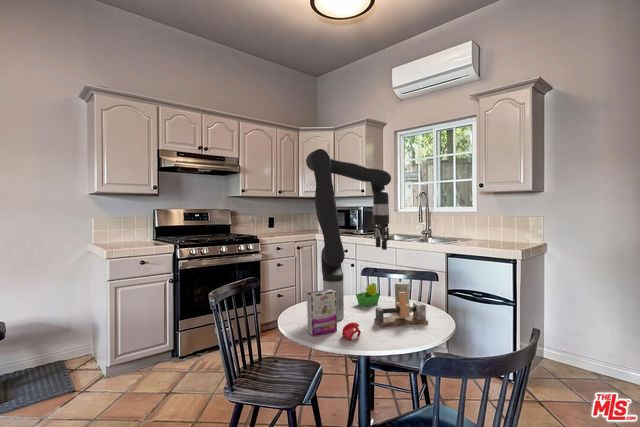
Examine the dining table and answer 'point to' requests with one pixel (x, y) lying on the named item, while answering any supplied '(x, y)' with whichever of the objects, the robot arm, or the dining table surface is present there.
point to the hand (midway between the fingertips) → (381, 248)
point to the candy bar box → (321, 312)
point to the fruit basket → (368, 296)
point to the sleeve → (403, 306)
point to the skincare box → (401, 288)
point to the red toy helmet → (351, 330)
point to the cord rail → (395, 321)
